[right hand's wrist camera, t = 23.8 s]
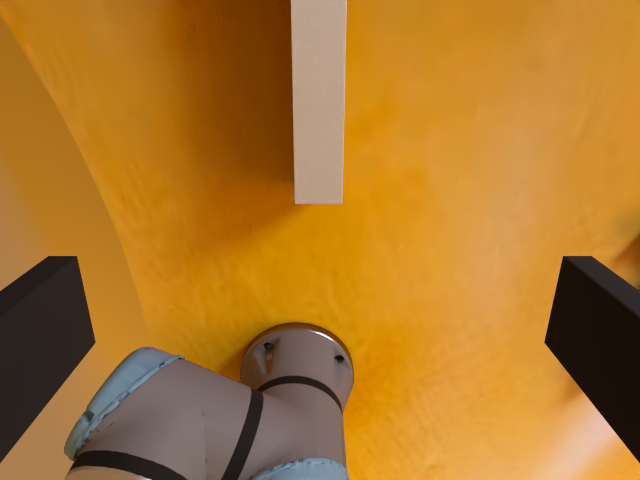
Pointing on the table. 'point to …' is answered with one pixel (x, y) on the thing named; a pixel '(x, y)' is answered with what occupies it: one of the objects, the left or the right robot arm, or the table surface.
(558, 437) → the table surface
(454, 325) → the table surface
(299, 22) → the beam
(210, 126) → the table surface
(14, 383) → the right robot arm
